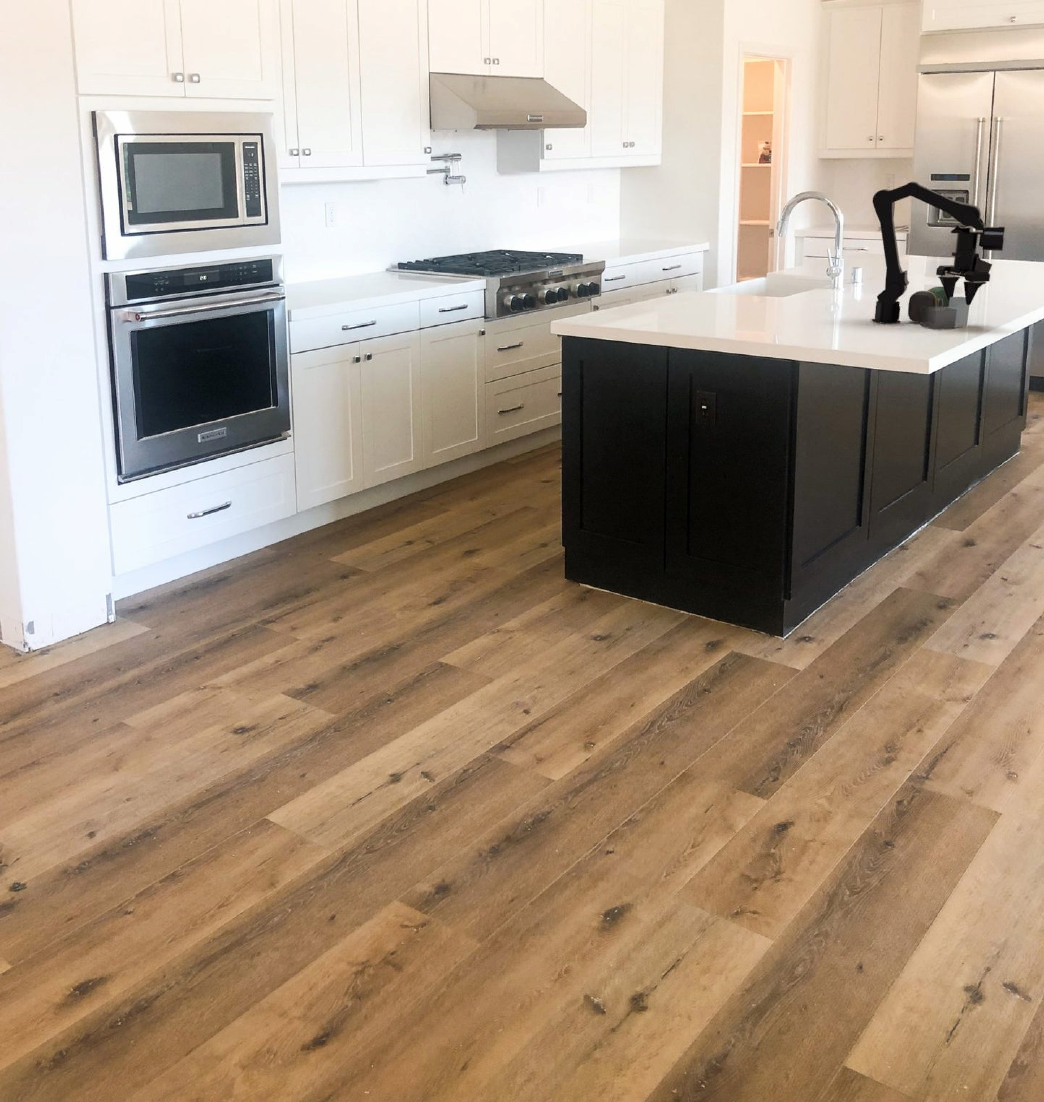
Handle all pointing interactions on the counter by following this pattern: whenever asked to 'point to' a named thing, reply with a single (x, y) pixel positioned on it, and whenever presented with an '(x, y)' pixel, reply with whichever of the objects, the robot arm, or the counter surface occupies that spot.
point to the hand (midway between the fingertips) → (959, 302)
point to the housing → (938, 317)
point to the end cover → (960, 310)
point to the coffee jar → (926, 302)
